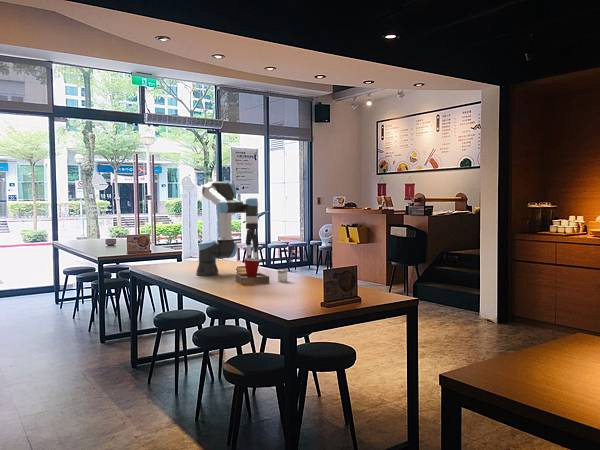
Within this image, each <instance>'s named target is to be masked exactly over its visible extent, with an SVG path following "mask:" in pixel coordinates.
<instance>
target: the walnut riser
mask: <svg viewBox="0 0 600 450" xmlns="http://www.w3.org/2000/svg"><path fill="white" fill-rule="evenodd" d="M235 282H236V283H238V284H241V286H248V285H263V284H270V276H269V275H267V274H265V273H262V272H257V276H256V277H249V278H247V273H238V274H236V273H235Z"/></svg>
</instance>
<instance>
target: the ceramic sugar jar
mask: <svg viewBox="0 0 600 450" xmlns="http://www.w3.org/2000/svg"><path fill="white" fill-rule="evenodd" d="M277 282H280V283H285V282H288V269H277Z"/></svg>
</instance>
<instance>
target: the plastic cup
mask: <svg viewBox="0 0 600 450" xmlns="http://www.w3.org/2000/svg"><path fill="white" fill-rule="evenodd" d="M243 261H244V266H245V267H244V268H245V272H246V273H245V274H247V278H249V277H256V276H257V273H258V271H259V266H260V265H259V264H260V261H261V259H260V258H253V257H243Z"/></svg>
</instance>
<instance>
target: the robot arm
mask: <svg viewBox="0 0 600 450" xmlns="http://www.w3.org/2000/svg"><path fill="white" fill-rule="evenodd" d="M201 190H202V191H201V192H202V196H203V197H204V199H206V200H208V201H211V203H212V204H214V205H215V207H216V210H217V212H218V223H219V224H218V227H219V229H218V231H219V237H218V238H217V241H216V240H214V239H211V240H204V241H200V242H199V243H198V266H197V268H196V272H195V273H196V276H200V277H201V276H202V277H205V276H206V277H209V276H210V277H211V276H217V275H219V268H218V265H217V262H216V261H217V259H218V260H219V259H231V258H234V257H236V255H237V252H238V244H237V241H234V240H235V239H234V237H233V234H232V228H233V227H232V214H245V222H246V223H245V229H246V236H245V237H246V238H245V245H246V256H252V258H256V259H259V257H258V247H259V246H260V244H259V239H258V228H259V223H258V221H259V220H258V219H259V217H258V215H259V202H258V198H257V197H256V198H255V197H254V198H253V197H247V198H246V199H245V200H239V201H237V200H236V201H235V200H234V199H236V195H237V188H236V186H235V184H234V182H232V181H209V182H207V183H205V184H204V185H203V187H202V189H201Z"/></svg>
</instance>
